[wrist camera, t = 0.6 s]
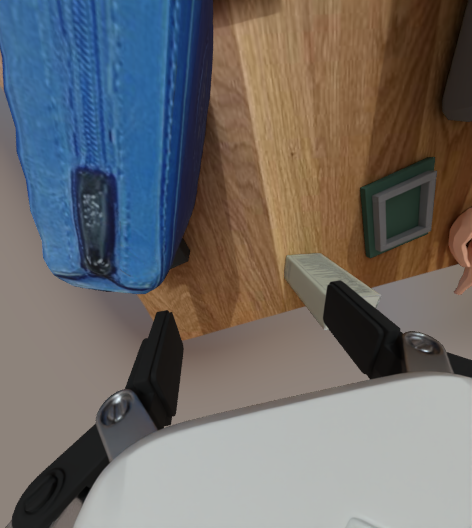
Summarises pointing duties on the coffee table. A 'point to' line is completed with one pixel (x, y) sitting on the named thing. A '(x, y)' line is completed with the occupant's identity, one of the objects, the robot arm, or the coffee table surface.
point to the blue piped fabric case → (109, 130)
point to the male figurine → (462, 248)
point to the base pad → (398, 207)
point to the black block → (181, 254)
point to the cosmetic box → (321, 282)
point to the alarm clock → (460, 75)
